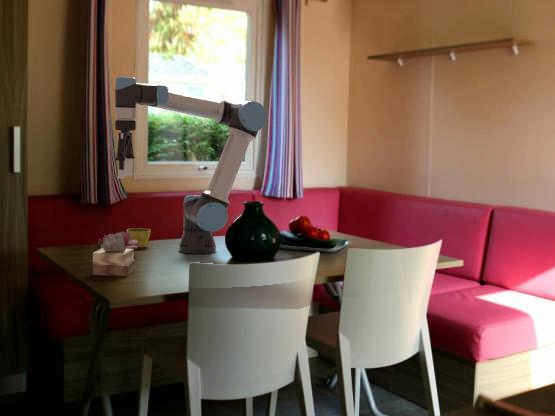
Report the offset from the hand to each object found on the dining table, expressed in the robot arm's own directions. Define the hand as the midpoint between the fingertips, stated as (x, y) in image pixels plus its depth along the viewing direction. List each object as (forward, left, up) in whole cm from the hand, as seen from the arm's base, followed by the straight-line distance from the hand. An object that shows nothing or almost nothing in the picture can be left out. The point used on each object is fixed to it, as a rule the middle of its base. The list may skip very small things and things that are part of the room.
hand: (125, 177), depth 270 cm
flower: (+4, -9, -32) cm, 33 cm away
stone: (0, +19, -24) cm, 31 cm away
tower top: (0, +20, -28) cm, 34 cm away
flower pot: (+1, -32, -32) cm, 45 cm away
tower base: (0, +20, -32) cm, 38 cm away
